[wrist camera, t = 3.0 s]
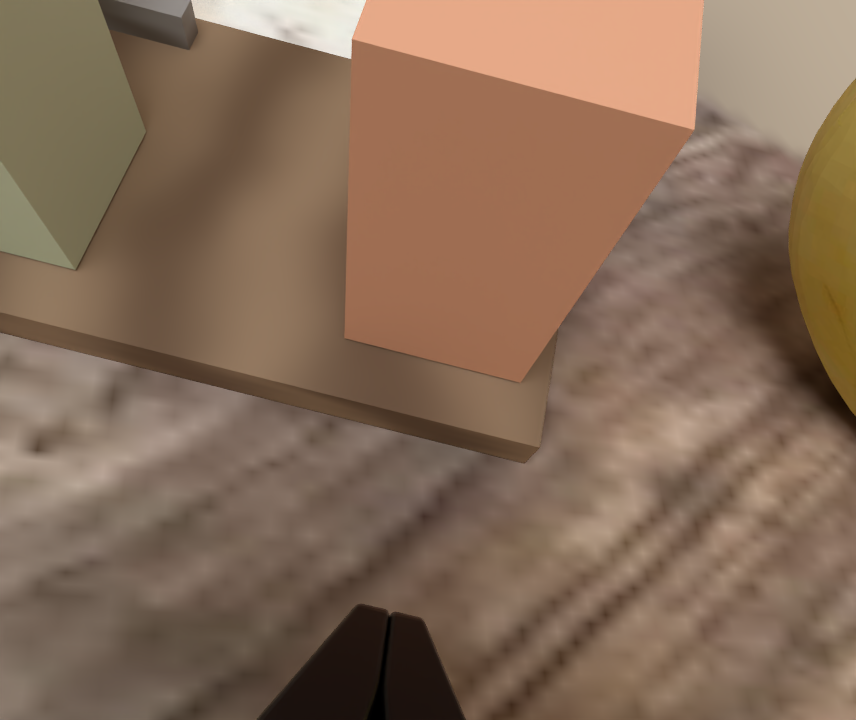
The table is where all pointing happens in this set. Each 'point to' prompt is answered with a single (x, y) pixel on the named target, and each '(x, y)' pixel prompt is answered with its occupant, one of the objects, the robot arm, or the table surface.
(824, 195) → the banana
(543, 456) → the table surface
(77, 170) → the sage block
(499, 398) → the studded brown plank
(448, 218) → the terracotta block
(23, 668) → the table surface
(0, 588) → the table surface
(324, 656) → the robot arm
